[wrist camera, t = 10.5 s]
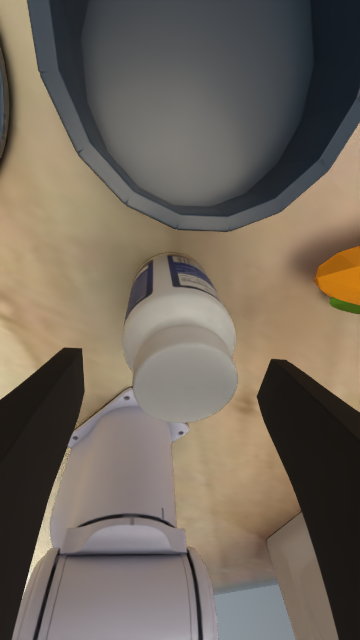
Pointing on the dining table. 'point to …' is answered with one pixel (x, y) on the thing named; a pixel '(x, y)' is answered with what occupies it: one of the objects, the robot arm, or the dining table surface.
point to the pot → (203, 99)
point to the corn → (341, 280)
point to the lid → (3, 104)
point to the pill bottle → (178, 341)
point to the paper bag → (301, 582)
